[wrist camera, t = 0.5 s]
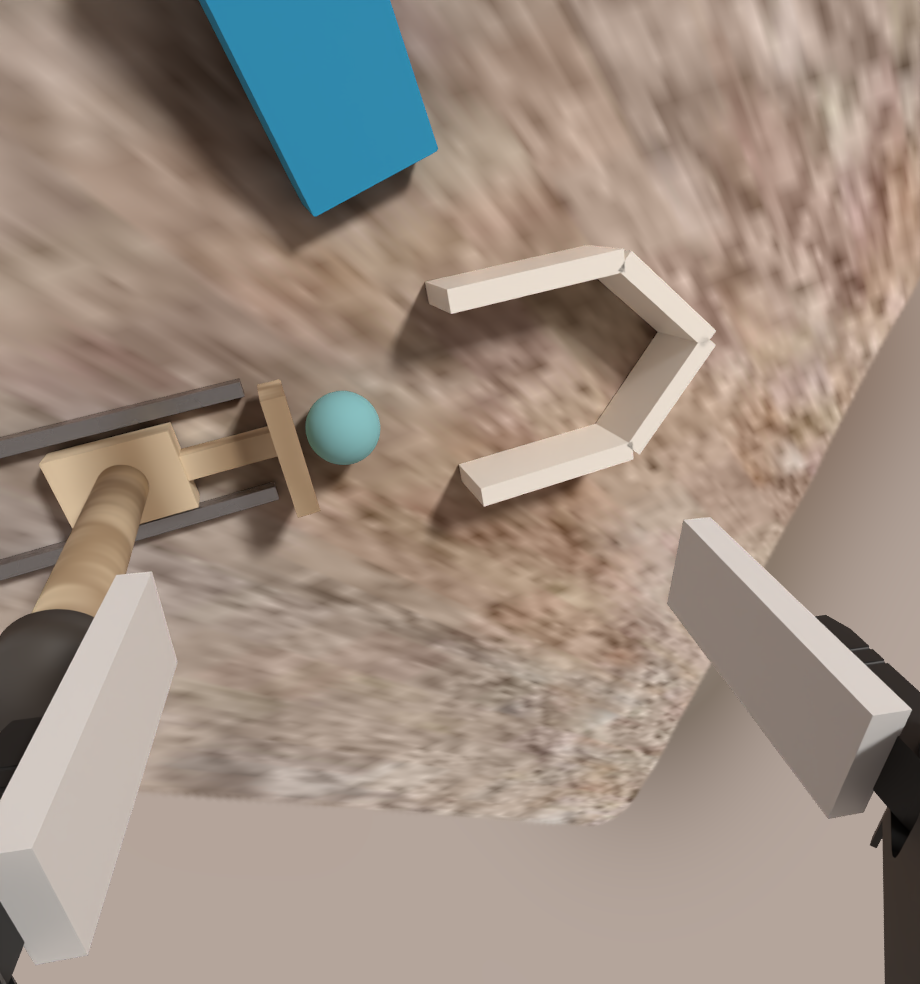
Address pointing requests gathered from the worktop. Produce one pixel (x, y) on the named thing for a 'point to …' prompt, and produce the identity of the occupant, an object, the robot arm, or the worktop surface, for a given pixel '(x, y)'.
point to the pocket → (636, 400)
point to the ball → (342, 427)
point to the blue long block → (327, 90)
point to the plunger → (124, 532)
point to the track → (118, 420)
